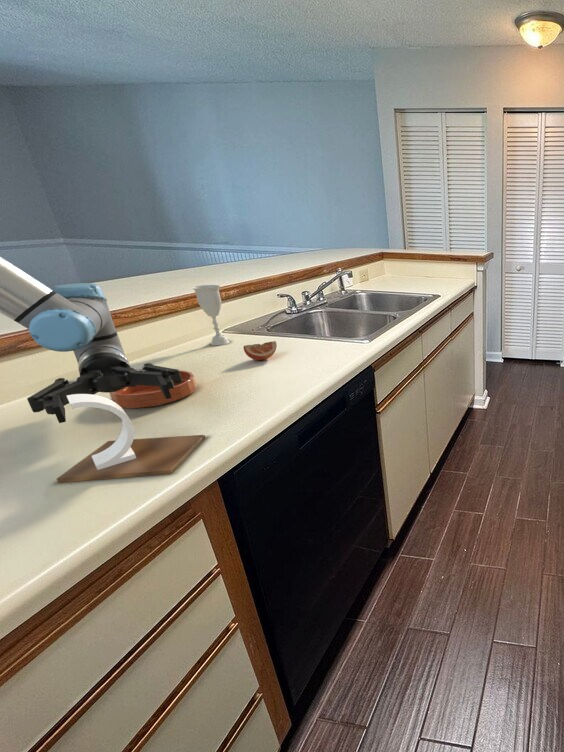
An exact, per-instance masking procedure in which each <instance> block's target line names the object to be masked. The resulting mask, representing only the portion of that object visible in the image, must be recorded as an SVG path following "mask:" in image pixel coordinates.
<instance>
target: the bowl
mask: <svg viewBox="0 0 564 752" xmlns="http://www.w3.org/2000/svg"><path fill="white" fill-rule="evenodd" d="M178 370H179V371H180V374H181V378H182V381H183V382H181V383H173V384H174V388H172V389H169V391H170V394H171V398H170V399H166V398H165V396H164V394H163V393H162V391H161V389H160V386H146V385H138V386H135V387H125V388H123V389H121V390H119V391H115V392H109V396H110V398H111V399H110V400H112V401H114V402H115V403H117V404H118V405H119V406H120V407H121V408H125V409H139V408H140V409H141V408H151V407H157V406H162V405H165V404H170V403H173V402H175V401H178V400H181V399H183V398H185V397H188V396H189V395H191V394H192V393H194V392H195V391H196V390H197V387H198V385H197V382H196V378H195V375H194V374H193V373H192V371H191V372H190V371H187V370H180V369H178Z"/></svg>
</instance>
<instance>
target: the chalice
mask: <svg viewBox="0 0 564 752" xmlns="http://www.w3.org/2000/svg"><path fill="white" fill-rule="evenodd" d="M192 289H193V291H194V293H195V296H196V300H197V303H198V305H199V306H200V309H202V311H203V312H204V313H205V314H206V315H207V317H210V318H211V319H212V322H211V324H213V330H214V332H215V335H213V336H212V338H211V343H210V345H211V346H223V345H227V344H230V341H229V340H228V338H227V337H226V336H225V335H224V334H222V333H221V332H220V329H221V328H220V327H219V321H218V320H217V317H218V316H219V315H220V311H221V308H222V302H223V301H222V298H221V294H220V285H218V284H203V285H202V284H201V285H195V286H192Z"/></svg>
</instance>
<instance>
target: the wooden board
mask: <svg viewBox="0 0 564 752" xmlns="http://www.w3.org/2000/svg"><path fill="white" fill-rule="evenodd" d="M116 440H117V439H115V440H108V441H106V442H105V443H103V444H102V445H101V446H99V447H98V448H96V449H95V450H94V451H92V452H91V453H90V454H89V455H87V456H85V457H84V458H83V459H81V460H80V461H79V462H77V463H76V464H74V465H73V466H71V467H70V468H69V469H67V470H66V471H64V473H62V474H60V476H58V477H57V478H56V481H57V483H59V484H60V483H71V482H85V481H96V480H112V479H122V478H134V477H135V478H136V477H147V476H161V475H172V474H173V473H174V472H175V471H176V470H177V469H178V468H179V467H180V466H181V464H183V462H185V461H186V459H187V458H188V457H189V456H190V455H191V454H192V453H193V452H194V451H195V450H196V449H197V448H198V447H199V446H200V445H201V444H202V443H203V441H205V440H206V435H205V434H193V435H179V436H178V435H177V436H163V437H150V438H149V437H148V438H134V439H133V442H132V445H131V448H132V450H133V452H134V453H135V456H136V458H135V459H132V460H129V461H126V462H122V463H119V464H116V465H113V466H109V467H106V468H103V469H100V470H97V468H96V466H95V463H94V461H93V459H92V455H95V454H98V453H100V452H102V451H104V450H106V449H107V448H109V447H110V446H111V445H112V444H113V443H114V442H115V441H116Z"/></svg>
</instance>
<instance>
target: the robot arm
mask: <svg viewBox="0 0 564 752" xmlns="http://www.w3.org/2000/svg"><path fill="white" fill-rule="evenodd" d="M107 299H108V298H106V297H105V294H104V293H103V290H102V288H101V286H100V285H98V284H96V283H92V282H91V283H90V282H80V283H66V284H58V285H55V286H52V287H49V286H48V285H46V284H44V283H42V281H39V280H38V279H36V277H34V276H32V275H30V274H29V273H27V272H26V271H24V270H22V269H21V268H20V267H18V266H16V265H14V264H13V263H11V261H9V260H8V259H6V258H4V257H2V256H1V255H0V314H1V315H4V316H5V317H7V318H8V319H11V320H12V321H13V322H16V323H18V324H19V325H21V326H22V327H24V328H25V329H27V330H28V331H29V335H30V337H31V338H32V339H33V341H34V342H35V343H36V344H37V345H39V346H41V347H42V348H44V349H46V350H49V351H53V352H59V353H60V352H62V353H68V352H73V354H74V357H75V359H76V362H77V368H78V372H79V373H78V374H79V376H78V377H77V378H76V379H73V380H69V379H66V378H64V377H58V378H57V379H55V380H54V381H53V383H51V384H49V385H48V386H45V387H44V388H43V389H41V390H39V391H37V392H36V393H34V394H32V395H30V396H28V397H27V398H26V400H27V402H28V404H29V407H30V409H31V411H32V413H40V412H43V411H44V410H45V412H46V414H47V415H55V417H56V419H57V422H58V423H59V424H62V423H66V422H67V418H66V417H67V416H66V408H65V406H66V405H70V403H69V401H68V398H67V395H73V394H92V395H97V394H98V393H102V394H103V393H105V394H108V393H109V392H115V391H119V390H121V389H123V388H125V387H135V386H138V385H146V386H160V389H161V391H162V393H163V394H164V396H165V398H166V399H170V398H171V394H170V391H169V389H172V388H174V384H173V383H181V382H183V381H182V378H181V374H180V371H181V370H180V369H178V368H170V367H165V366H160V365H154V364H153V363H151V362H146V363H143V365H142V366H141V368H137V369H136V368H135V367H132V366H131V364H130V362H129V360H128V359H127V357H126V354H125V351H124V348H123V345H122V342H121V340H120V337H119V334H118V332H117V329H116V326H115V323H114V320H113V317H112V314H111V312H110V309H109V305H108V302H107V301H108V300H107ZM179 370H180V371H179Z"/></svg>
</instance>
